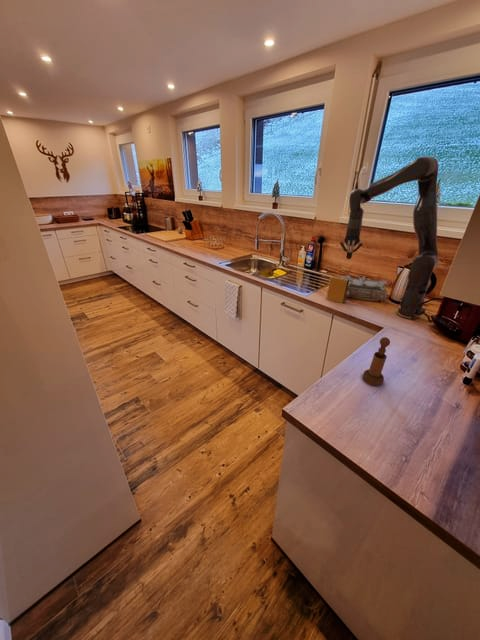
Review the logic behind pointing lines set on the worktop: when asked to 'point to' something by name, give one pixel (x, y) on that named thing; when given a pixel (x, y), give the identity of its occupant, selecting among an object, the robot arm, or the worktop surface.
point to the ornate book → (366, 289)
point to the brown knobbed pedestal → (377, 365)
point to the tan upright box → (337, 289)
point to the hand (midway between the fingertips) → (348, 259)
